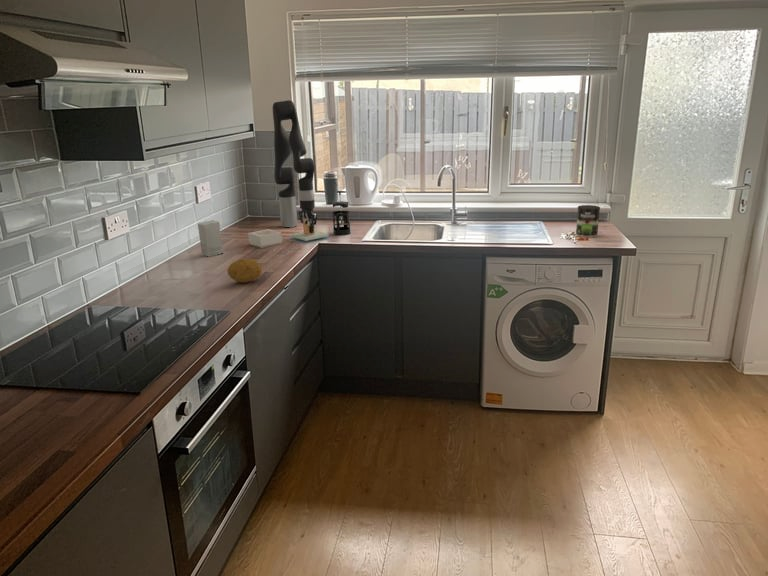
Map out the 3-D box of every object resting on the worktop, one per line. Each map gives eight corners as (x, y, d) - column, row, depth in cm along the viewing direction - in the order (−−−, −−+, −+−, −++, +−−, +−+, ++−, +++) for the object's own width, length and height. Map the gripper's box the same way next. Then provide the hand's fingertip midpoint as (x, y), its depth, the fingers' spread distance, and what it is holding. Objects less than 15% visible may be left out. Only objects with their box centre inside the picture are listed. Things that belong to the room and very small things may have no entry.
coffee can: (597, 237, 278) (599, 209, 274) (574, 236, 282) (576, 208, 278) (598, 233, 287) (600, 205, 283) (576, 232, 291) (578, 204, 287)
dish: (249, 244, 289) (248, 233, 287) (270, 240, 296) (269, 229, 295) (261, 248, 280) (260, 236, 279) (282, 244, 288) (281, 232, 286)
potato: (226, 281, 228) (223, 258, 225) (259, 276, 233) (257, 254, 231) (231, 287, 220) (228, 264, 217) (265, 282, 225) (263, 259, 222)
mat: (285, 240, 297) (285, 239, 296) (314, 234, 308) (314, 233, 308) (304, 245, 284) (304, 244, 283) (334, 239, 295) (334, 238, 295)
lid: (290, 236, 296) (289, 224, 294) (312, 232, 305) (312, 220, 303) (305, 240, 286) (304, 228, 284) (328, 236, 295) (327, 224, 293)
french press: (346, 237, 298) (343, 192, 291) (329, 236, 302) (327, 192, 295) (354, 232, 309) (352, 189, 302) (338, 231, 312) (336, 189, 305)
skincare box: (217, 251, 277) (213, 219, 272) (224, 253, 272) (220, 221, 268) (201, 255, 271) (196, 222, 267) (208, 257, 267) (203, 224, 262)
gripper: (292, 198, 292) (295, 231, 298) (308, 201, 282) (311, 235, 287) (305, 196, 297) (307, 229, 302) (321, 199, 287) (323, 233, 292)
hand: (309, 232), depth 295 cm, fingers closed on lid, 4 cm apart
